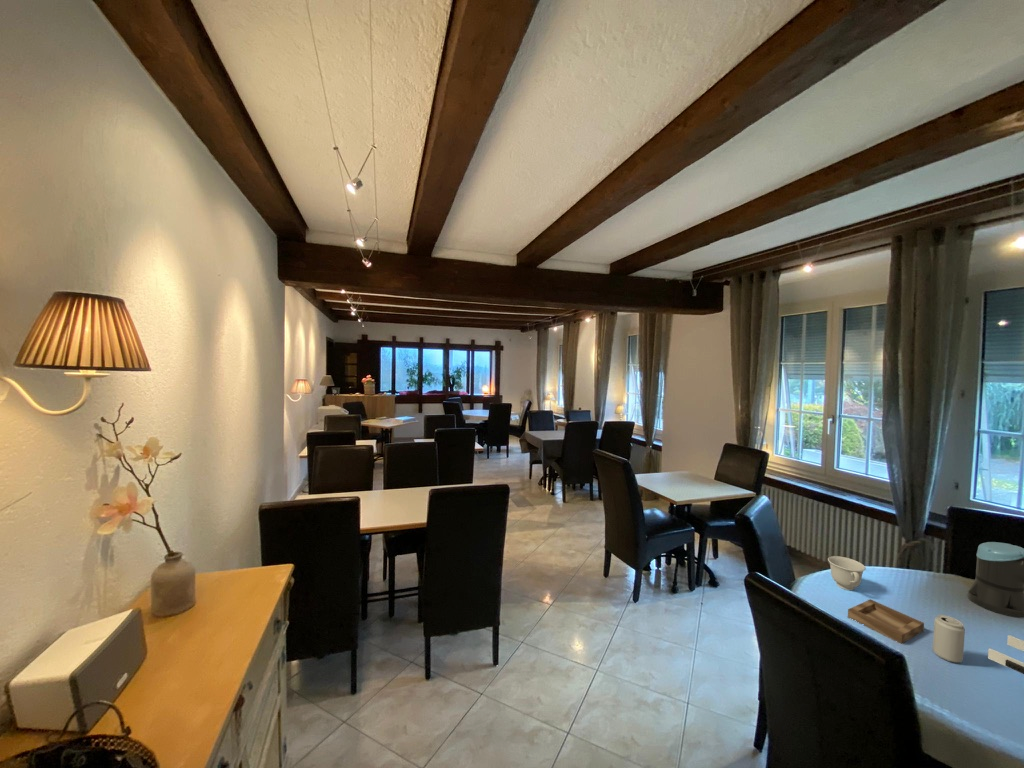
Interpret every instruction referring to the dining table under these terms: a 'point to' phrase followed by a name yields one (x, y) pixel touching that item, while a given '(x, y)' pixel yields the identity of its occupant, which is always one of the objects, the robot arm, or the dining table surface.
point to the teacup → (846, 572)
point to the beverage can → (948, 638)
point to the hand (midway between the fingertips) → (998, 646)
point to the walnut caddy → (886, 621)
